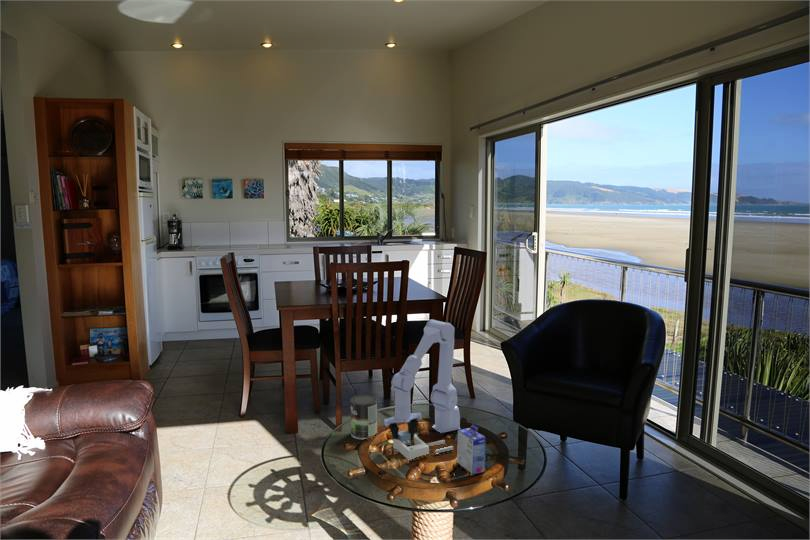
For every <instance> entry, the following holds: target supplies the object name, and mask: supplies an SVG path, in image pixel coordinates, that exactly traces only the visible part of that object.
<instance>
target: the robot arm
mask: <svg viewBox="0 0 810 540" xmlns="http://www.w3.org/2000/svg"><path fill="white" fill-rule="evenodd" d="M455 330H456V329H455V327H454V326H453V325H452V323H450V322H446V321H445V322H444V321H440V320H436V319H433V318H432V319H429V320H428V321H427V322H426V325H425V326H424V328H423V335H422V337H421V340H420V341H419V344H418V345H417V347H416V348H415V351H414V353H413V354H410V355H409V356H408V357H407V358H406V360H405V362H404V364H403V365H402V367H401V368H400V370H399V372H397V373H395V374H394V375H393V376H392V378H391V381H390V382H391V386H392V387H393V391H394V416H391V417H388V418H385V419H383V425H384V426H385V427H388V428H389V430H390V432H391V435H392V438H393V439H397V440H398V432H399V430H400V427H399V426H398V424H401V423H407V431H408V432H409V433H410V434H411V441H413V440H414V436H415V431H416V429H417V428H418V425H419V421H418V420H422V417H423V416H422V413H420V412H412V413H411V411H412V410H411V409H412V408H411V402H412V401H411V399H412V398H411V390H412V388H413V387H414V385H415V380H416V379H415V378H416V375H417V374H418V372H419V370H420V368H421V367H422V365H423V362H422V359H423V358H424V356H425V355H426V354H427V352H428V351H429V349H430V348H431V347H432V345H433V344H436V343H439V358H438V359H439V360H438V371H437V372H438V373H437V383H435V384H434V385H433V386H432V391H431V392H430V393H431V394H430V402H431V403H432V404H433V407H434V424H432V425H433V426H432V427H431V428H433V430H435V431H436V432H438V433H439V432H440V433H439V434H443V433H447V432H448V433H449V432H452V431H456V430H457V431H458V430H461V426H460V425H461V412H460V409H459V407H458V406H457V405H458V394H457V392H458V391H457V389H456V387H455V386H454V385H453V384H452V383H453V370H454V369H453V367H454V352H455V351H454V349H455ZM393 439H392V440H393Z"/></svg>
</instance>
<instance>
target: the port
mask: <svg viewBox="0 0 810 540" xmlns="http://www.w3.org/2000/svg"><path fill="white" fill-rule="evenodd" d="M392 442H393V443H392V445H393V446H392V447H393V450H394V449H395V450H396V451H398V452H399V453H400V454H401V455H402V456H403V457H404V458H406V459H407V460H408V461H413V460H415V459H414V458H416V457H419V456H422V455H426V454H429V455H430V449H429V446H428V445H427V443H425V441H424V440H422V439H420V438H419V437H418V434H415V433H414V435H413V443H414V445H410V446H406V445H405V444H403V443H402V442H401V441H400V440H397V439H392ZM412 459H413V460H412Z"/></svg>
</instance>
